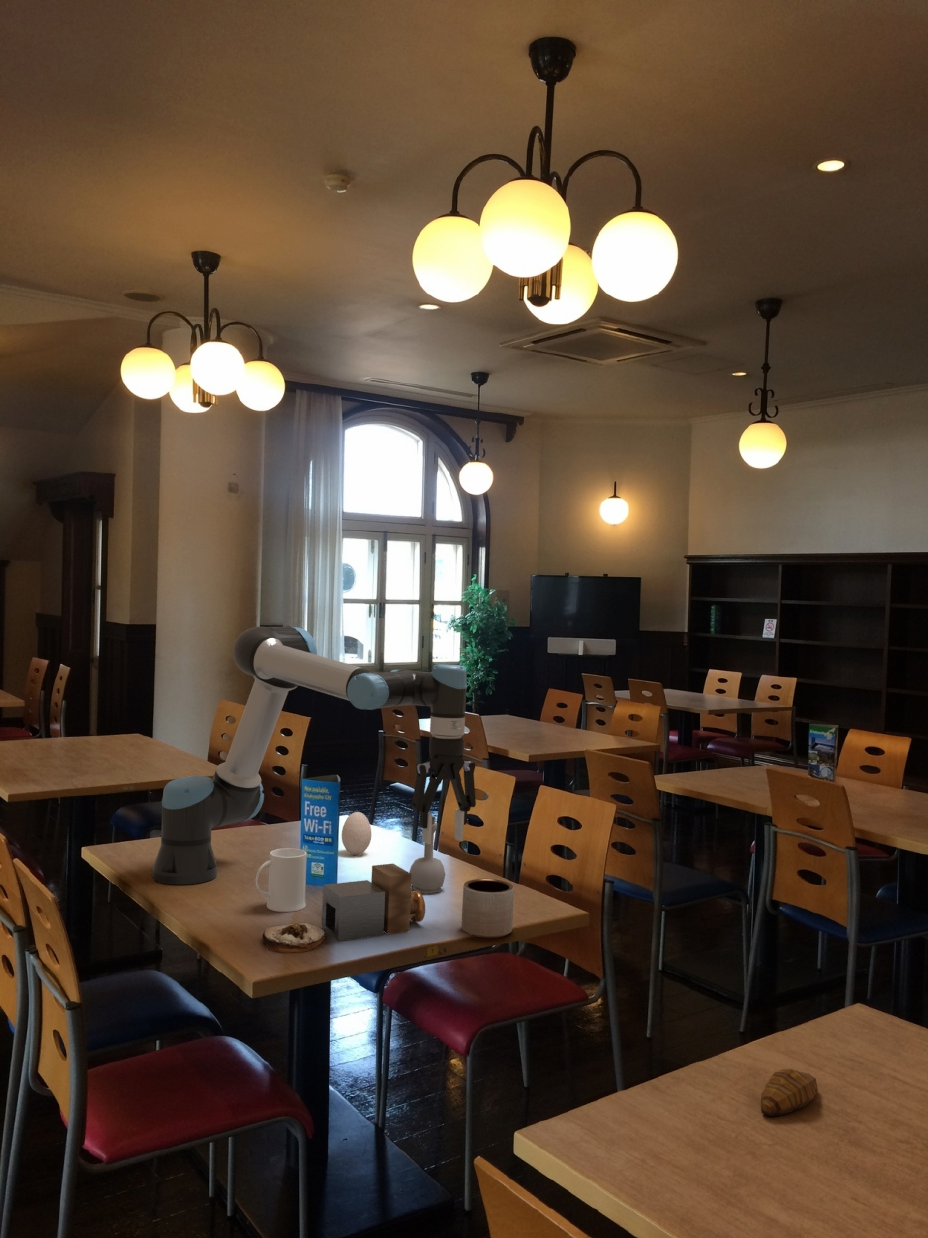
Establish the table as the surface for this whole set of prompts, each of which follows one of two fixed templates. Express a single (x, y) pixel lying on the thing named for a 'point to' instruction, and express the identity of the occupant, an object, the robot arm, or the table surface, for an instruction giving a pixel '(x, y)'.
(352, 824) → the egg
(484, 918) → the planter
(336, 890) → the block
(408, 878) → the spacer
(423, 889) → the potion bottle
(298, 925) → the cream tart
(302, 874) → the mug
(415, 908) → the shaft
